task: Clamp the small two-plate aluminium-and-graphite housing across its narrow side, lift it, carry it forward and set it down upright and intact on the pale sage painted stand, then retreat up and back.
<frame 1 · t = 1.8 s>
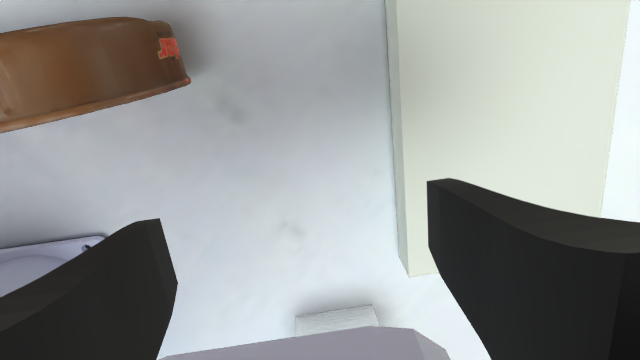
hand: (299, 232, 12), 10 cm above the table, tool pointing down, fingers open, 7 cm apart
sage stand: (491, 84, 21), on the table
housing: (338, 349, 27), on the table
tin: (36, 76, 20), on the table
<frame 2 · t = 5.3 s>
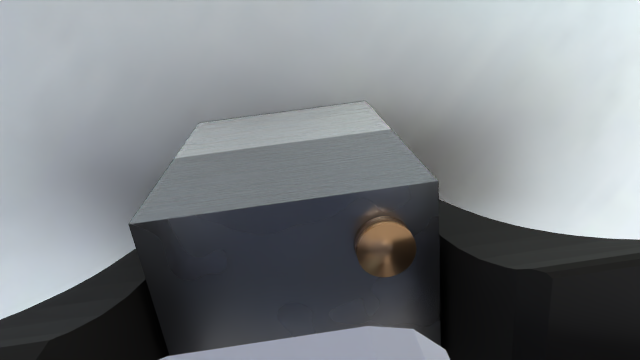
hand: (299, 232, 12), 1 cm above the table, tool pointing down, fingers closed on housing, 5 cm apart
housing: (297, 210, 13), on the table, touching gripper
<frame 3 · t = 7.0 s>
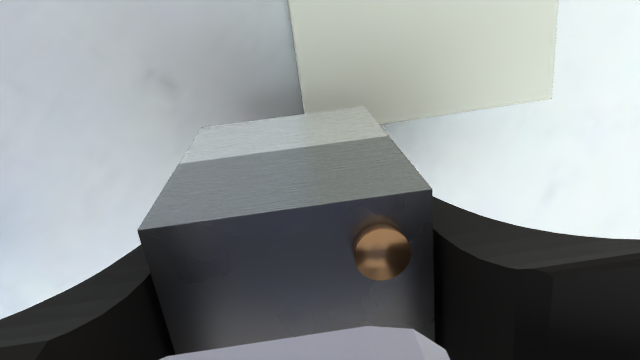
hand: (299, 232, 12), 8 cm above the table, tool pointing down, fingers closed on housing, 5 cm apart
housing: (297, 211, 14), point 7 cm above the table, touching gripper
when the fingers open (4 cm above the table, at t = 8.9 s): housing stays where it is, resting on sage stand.
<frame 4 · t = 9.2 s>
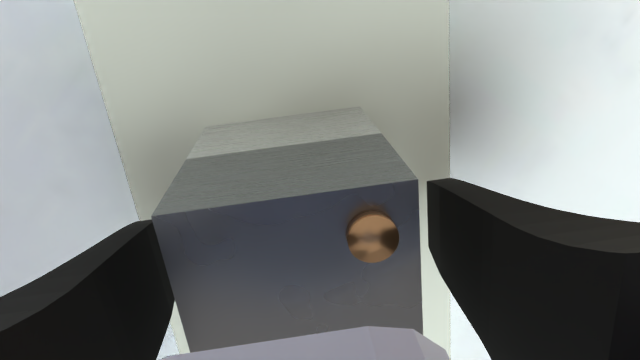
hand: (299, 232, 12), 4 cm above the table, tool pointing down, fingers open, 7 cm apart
sage stand: (294, 174, 16), on the table
housing: (296, 207, 14), point 2 cm above the table, touching sage stand
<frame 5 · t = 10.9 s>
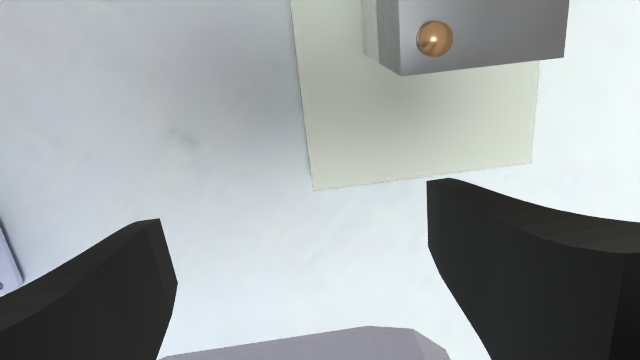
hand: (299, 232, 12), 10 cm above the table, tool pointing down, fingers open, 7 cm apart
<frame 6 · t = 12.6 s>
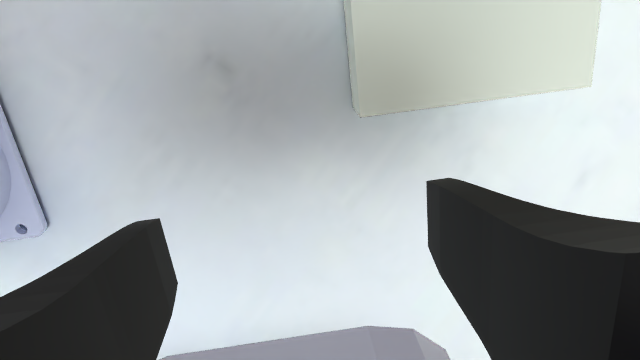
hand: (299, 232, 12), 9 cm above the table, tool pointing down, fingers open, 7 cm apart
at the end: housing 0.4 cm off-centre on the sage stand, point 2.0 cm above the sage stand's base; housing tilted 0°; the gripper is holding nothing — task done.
